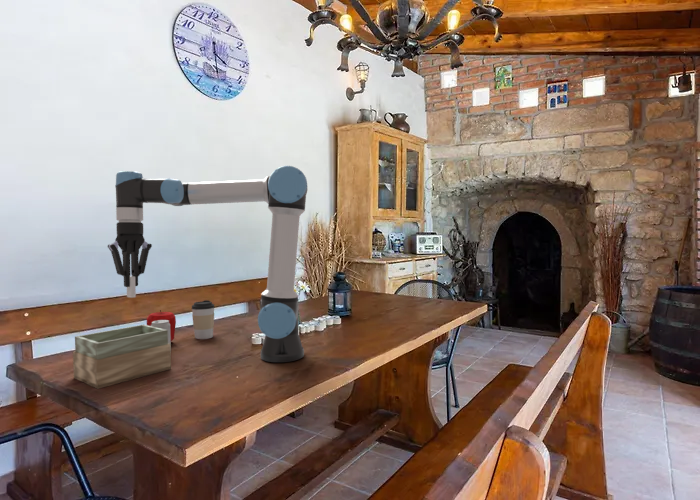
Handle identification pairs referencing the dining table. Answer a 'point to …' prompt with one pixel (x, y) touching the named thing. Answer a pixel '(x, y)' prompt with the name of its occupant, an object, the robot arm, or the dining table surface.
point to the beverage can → (163, 325)
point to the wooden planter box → (120, 355)
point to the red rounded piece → (163, 316)
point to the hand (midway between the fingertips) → (131, 296)
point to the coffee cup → (203, 319)
